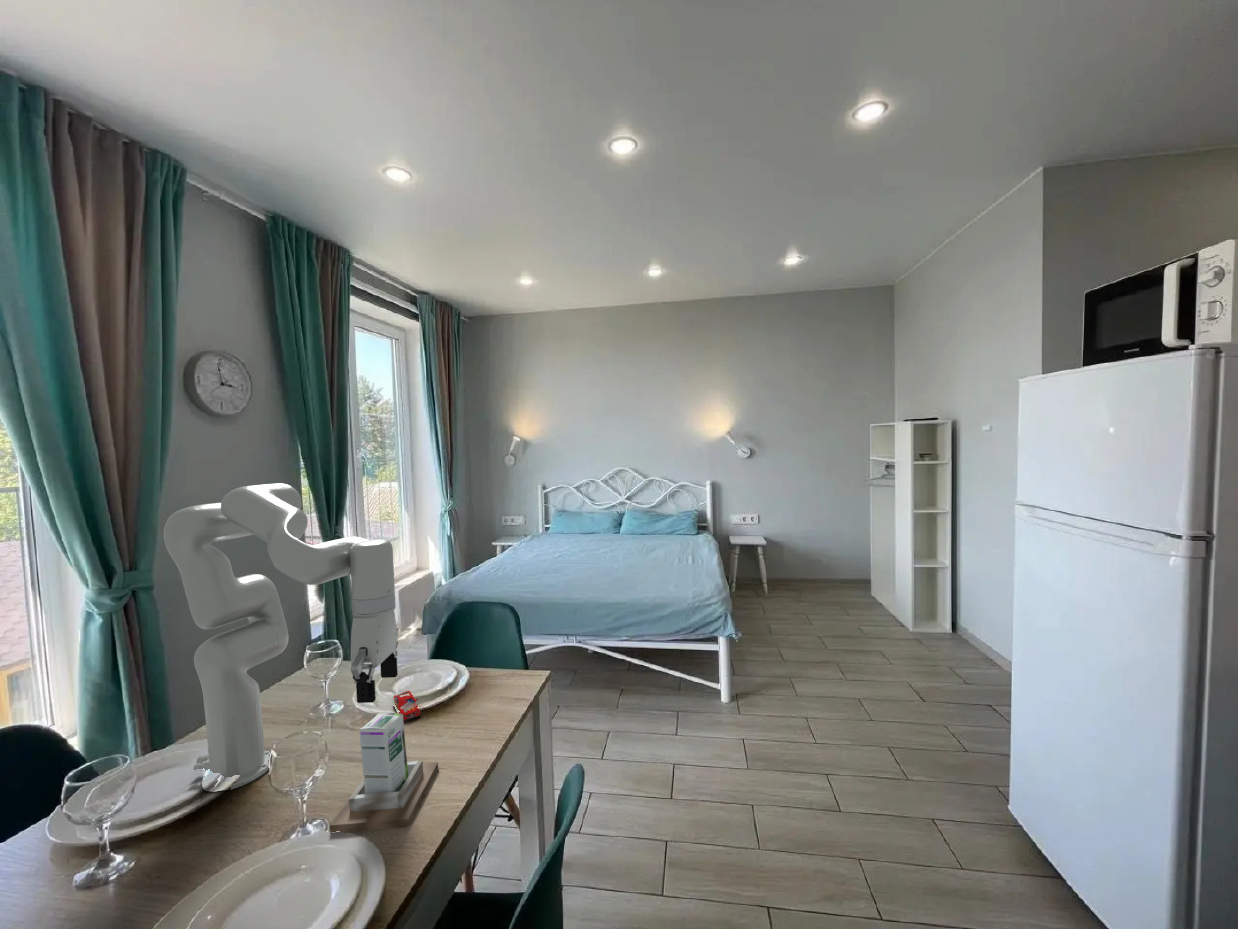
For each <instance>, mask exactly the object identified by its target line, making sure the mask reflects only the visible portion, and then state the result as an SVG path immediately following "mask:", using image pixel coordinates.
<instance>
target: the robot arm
mask: <svg viewBox="0 0 1238 929" xmlns="http://www.w3.org/2000/svg"><path fill="white" fill-rule="evenodd" d="M302 502H303V501H302V496H301V495H300V494H299V492H298V490H297V489H296V488H294V486H291V485H289V484H286V483H283V482H282V483H280V482H278V483H265V484H255V485H254V484H252V485H245V486H240V487H236V488H234V489H232V490H231V491H229V492H227V493H226V494H225V495H224V496H223V498H222V499H221V502H213V503H212V502H211V503H203V504H197V505H192V506H188V507H184V508H181V509H179V510H177V511H175V512H173V513H172V514H171V515H169V516H168V518H167V520H166V522H165V525H164V526H163V527H164V528H163V540H164V541H163V542H164V546H165V548H166V551H167V552H168V554H169V556H170V557H171V559H172V561H173V563H174V564H175V566H176V567H177V569H178V571H179V573H180V574H179V575H180V577H181V582H182V585H183V588H184V593H185V597H186V599H187V604H188V608H189V611H190V615H191V617H192V620H193V622H194V624H195V625H196V626H197V627H198V628H200V629H202V630H213V629H217V628H220V627H224V626H227V625H230V624H233V623H236V622H238V621H241V620H244V619H247V620H248V622H249V623H247V624H244V625H241V626H236V627H235V628H233V629H229V630H226V631H224V632H220V633H218V634H216V635H214V636H212V637H210V638H208V639H207V640H205V641H204V642H202V643H200V644H199V646H198V647H197V649H196V650H195V652H194V656H193V666H194V668H195V671H196V674H197V677H198V680H199V682H200V683H199V684H200V686H201V690H202V695H203V696H202V697H203V708H204V716H205V727H206V739H207V752H208V754H202V755H199V756H198V757H197V759H196V763H195V764H194V765H193V769H192V770H193V771H194V770H197V769H203V768H204V769H205V771H206V770H208V769H210V771H212V772H213V773H220V774H221V775H222V776H224V777H226V778H227V777H232V776H234V775H240V779H238V780H237V782H236V783H234V784H233V786H232V787H231V789H230V790H235V789H237V788H239V787H243V786H245V785H248V784H249V783H251V782H253V781H255V780H256V779H258V778H260V777H261V776H262V775H264V774H266V772H267V771H269V770H268V760H269V754H270V752H271V751H269V750H265V749H266V748H265V738H264V726H263V715H262V714H263V713H262V703H261V702H262V700H261V690H260V686H259V683H258V682H257V681H256V680H255V679H254V678H253V677H251V676H250V675H249V674H248V673H247V671H248V670H250V669H252V668H254V667H255V666H257V665H260V664H262V663H264V662H266V661H268V660H271V659H273V658H275V657H277V656H278V655H280V654H282V653H283V652H284V650H286V648H287V646H288V644H289V638H290V637H289V630H288V625H287V622H286V618H285V614H284V610H283V607H282V604H281V600H280V599H281V598H280V596H279V593H278V590H277V587H276V586H275V584H274V582H273V581H272V580H271V579H270V578H268V576H266V575H264V574H258V573H252V574H247V575H244V576H240V577H239V576H238V577H236V576H235V575H234V571H233V568H232V564H231V561H230V559H229V558H228V556H227V555H226V554H225V553H224V552H223V551H221V550H220V549H219V548H217V547H216V546H214V545H212V544H213V543H216V542H220V541H227V540H233V539H237V538H245V537H249V536H256V537H257V538H259V539H261V540H262V541H264V542H265V543H267V553H268V555H269V559H270V560H271V563H272V564H273V566H274V567H275V568H276V569H277V570H278V571H279V572H281V573H282V574H284V575H285V576H287V577H289V578H291V579H292V580H294V581H296V582H298V583H301V584H304V585H307V586H317V585H321V584H325V583H327V582H328V583H329V582H331V581H333V580H336V579H340V578H343V577H346V576H350V583H351V588H350V589H351V602H352V606H351V607H352V616H353V617H352V622H351V631H350V672H351V674H352V679H353V680H354V684H355V686H356V687H355V690H356V691H355V692H356V702H357V703H358V704H365V703H374V702H375V701H376V680H375V679H373V678H374V674H375V670H376V668H377V667H379V666H380V676H381V678H382V679H387V678H396V677H398V673H399V672H398V657H397V656H398V650H397V648H398V643H399V641H398V635H399V631H398V630H397V624H396V623H397V622H396V614H395V609H396V605H397V604H396V589H395V588H396V587H395V572H394V571H395V568H394V548H393V545H392V542H391V541H389V540H387V539H382V538H380V539H379V538H376V539H375V538H374V539H367V538H363V537H360V536H345V537H341V538H338V539H332V540H328V541H323V542H320V543H316V544H308V543H306V542H304V541H301V540H300V539H301V538H302V536H303V535H304V534H305V532H306V530H307V527H308V520H309V519H308V516H307V514H306V513H305V512H304V511H303V510H301V508H302ZM365 663H367V664H365ZM364 670H368V673H366V672H365V671H364ZM203 762H204V763H203ZM205 771H204V772H205ZM230 790H229V791H230Z"/></svg>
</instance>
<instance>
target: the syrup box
mask: <svg viewBox="0 0 1238 929" xmlns="http://www.w3.org/2000/svg"><path fill="white" fill-rule="evenodd" d="M404 726H405V724H404V721H403V714H400V713H396V712H381V713H379V712H378V713H377V714H376V715H375V716H374V717H373V718H372V719H371V720H369V721H368V722H367V723H366V724H365V725H363V726H362V727H361V728H359V730H358V731H359V742H360V753H361V754H360V756H361V762H362V763H361V764H362V772H363V774H362V775H363V779H364V786H365V794H374V793H386V792H399V791H400V790H401V788H402V786H403V785H404V783H405V781H406V780H407V778H408V767H407V762H408V761H407V760H408V758H407V748H406V747H407V746H406V736H405V727H404Z"/></svg>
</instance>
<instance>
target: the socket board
mask: <svg viewBox="0 0 1238 929" xmlns="http://www.w3.org/2000/svg"><path fill="white" fill-rule="evenodd" d="M407 767H408V778H407V780H406V781H405V783H404V785H403V786H402V788H401V790H400V791H399V792H386V793H374V794H365V786H364V778H363V779H362V780H361V782H360V783H359V784H358V786H357V787H356V789H355V790H354V791H353V793H352V794H351V795H350V797H349V798H348V800H347V801H346V803H345V804H344V805H343V807H342V808H341V809H340V811H339V812H338V813H337V815H336V817H334V819H333V820H332V822H331V823H330V826H329V832H330V833H331V832H336V831H340V832H342V833H350V832H363V831H375V830H376V831H377V830H387V829H388V830H390V829H398V828H399V829H401V828H409V827H410V825H411V822H412V821H413V819H414V817H415V815H416V813H417V811H418V810H419V807H420V806H421V804H422V801H424V800H423V799H424V798H425V796H426V794H427V792H428V790H429V788H430V786H431V784H432V782H433V780H434V779H435V777H436V775H437V772H438V771H439V762H436V761H435V762H427V763H424V762H423V760H414V761H413V760H412V761H407Z"/></svg>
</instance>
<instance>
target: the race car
mask: <svg viewBox="0 0 1238 929" xmlns="http://www.w3.org/2000/svg"><path fill="white" fill-rule="evenodd" d="M399 693H400V694H399ZM411 693H412V692H411V691H410V690H403V691H401V692H398V694H397V693H395V694H396V695H395V694H394V696H393V698H394V703H395V705H396V707H397V709H398V710H399V711H400V712H399V713H400V714H403V722H406V721H411V720H413V719H415V718H417V717H419V716H420V715H421V708H420V709H418V708H417V707H418V705H419V703H418V700H419V698H415V696H414V694H413V693H412V694H413V695H412V694H411ZM413 696H414V697H413Z"/></svg>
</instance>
